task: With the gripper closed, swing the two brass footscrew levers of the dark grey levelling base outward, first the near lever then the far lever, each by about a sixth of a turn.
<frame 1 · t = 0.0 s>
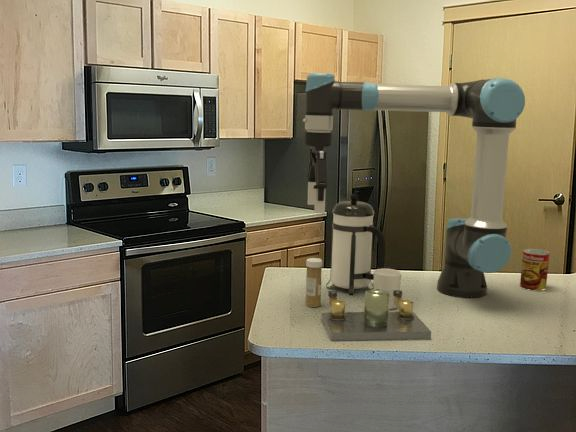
hand: (315, 208, 176), 28 cm above the worktop, tool pointing down, fingers open, 13 cm apart
sprinkles bottle: (312, 305, 181), on the worktop
lever near: (401, 303, 170), point 4 cm above the worktop, hinge at 0.0°
coffee press: (353, 290, 197), on the worktop
lever far: (335, 304, 168), point 4 cm above the worktop, hinge at 0.0°
levelling base: (374, 329, 163), on the worktop
white cup: (385, 306, 182), on the worktop
canned food: (532, 288, 205), on the worktop
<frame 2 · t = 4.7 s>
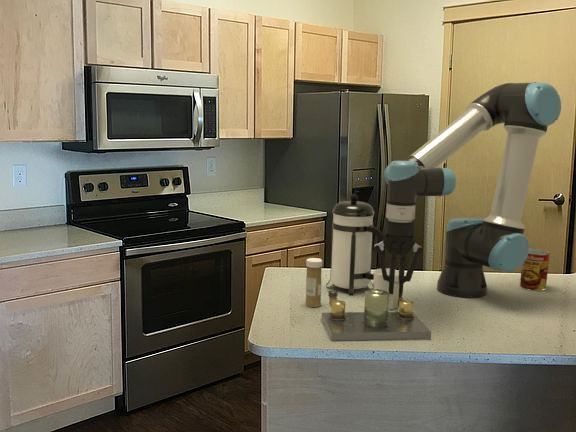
hand: (394, 305, 171), 4 cm above the worktop, tool pointing down, fingers closed
lever near: (402, 303, 170), point 4 cm above the worktop, hinge at -1.2°, touching gripper
everything else where it was.
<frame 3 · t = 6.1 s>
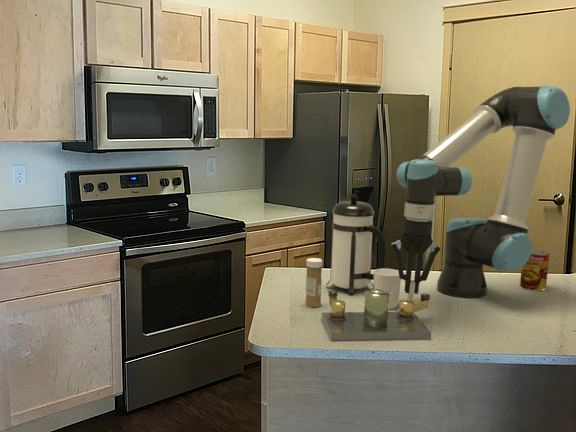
hand: (410, 304, 171), 4 cm above the worktop, tool pointing down, fingers closed
lever near: (414, 305, 168), point 4 cm above the worktop, hinge at -54.0°, touching gripper
everything else where it was.
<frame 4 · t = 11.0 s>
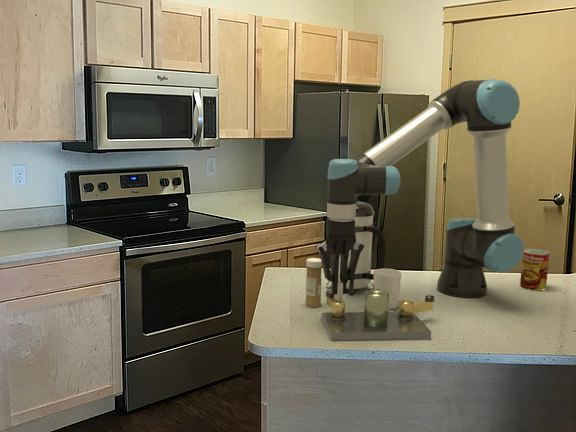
hand: (338, 305, 169), 4 cm above the worktop, tool pointing down, fingers closed
lever near: (416, 306, 168), point 4 cm above the worktop, hinge at -64.5°
lever far: (334, 304, 168), point 4 cm above the worktop, hinge at 4.9°, touching gripper
everything else where it was.
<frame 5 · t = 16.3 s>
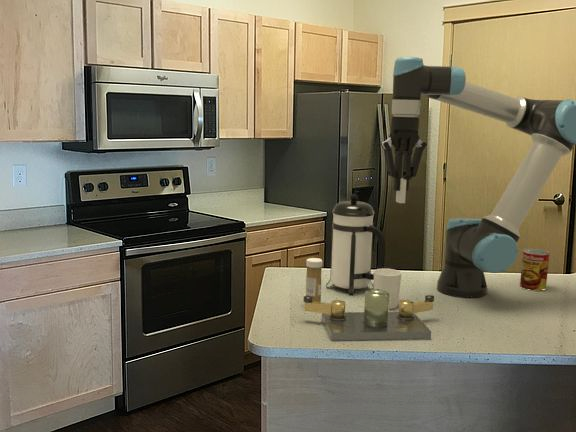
hand: (400, 202, 175), 30 cm above the worktop, tool pointing down, fingers closed
lever far: (324, 307, 165), point 4 cm above the worktop, hinge at 63.2°
everything else where it was.
at the end: lever near at -64° (first picture: +0°); lever far at +63° (first picture: +0°) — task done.
